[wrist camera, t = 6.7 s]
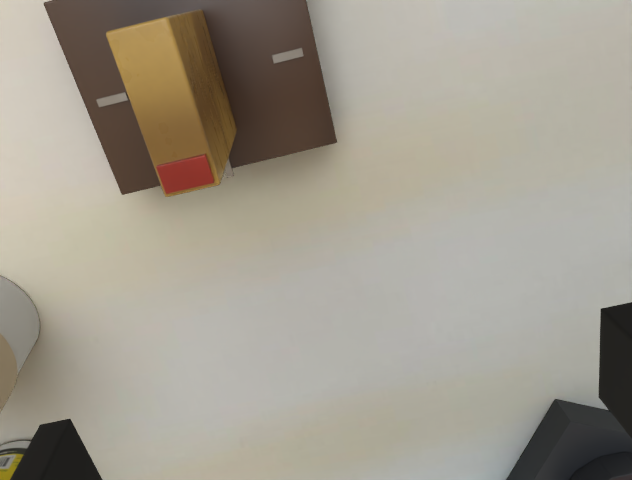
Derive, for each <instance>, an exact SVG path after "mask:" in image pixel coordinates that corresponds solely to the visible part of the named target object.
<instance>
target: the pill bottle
mask: <svg viewBox="0 0 632 480" xmlns="http://www.w3.org/2000/svg"><path fill="white" fill-rule="evenodd" d="M30 442H31V441H15V442H10V443H7V444H4V445H1V446H0V480H10V479H11V477H12V475H13V473H14V471H15V469H16V468H17V466H18V464H19V462H20V460H21V459H22V457H23V455H24V453H25V451H26V450H27V448H28V446H29V444H30Z"/></svg>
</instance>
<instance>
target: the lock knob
mask: <svg viewBox="0 0 632 480" xmlns="http://www.w3.org/2000/svg"><path fill="white" fill-rule="evenodd" d="M106 37H107V39H108V42H109V45H110V48H111V50H112V53H113V56H114V58H115V61H116V64H117V67H118V69H119V72H120V75H121V78H122V80H123V83H124V86H125V89H126V91H127V94H128V97H129V99H130V102H131V105H132V108H133V110H134V113H135V116H136V119H137V121H138V124H139V127H140V129H141V132H142V135H143V138H144V140H145V143H146V146H147V149H148V151H149V154H150V157H151V160H152V162H153V165H154V168H155V170H156V173H157V176H158V179H159V181H160V184H161V187H162V190H163V192H164V195H165V196H166V197H169V196H174V195H178V194H182V193H186V192H191V191H195V190H199V189H204V188H208V187H212V186H216V185H219V184H220V183H221V179H222V176H223V173H224V170H225V167H226V163H227V160H228V157H229V154H230V151H231V147H232V144H233V141H234V138H235V135H236V132H237V128H236V125H235V121H234V118H233V114H232V111H231V107H230V104H229V100H228V97H227V93H226V90H225V86H224V83H223V80H222V76H221V73H220V69H219V66H218V62H217V59H216V55H215V52H214V48H213V45H212V41H211V38H210V34H209V31H208V28H207V24H206V21H205V17H204V14H203V11H202V10H201V9H199V10H195V11H190V12H186V13H181V14H177V15H172V16H168V17H163V18H159V19H155V20H151V21H147V22H143V23H139V24H135V25H131V26H127V27H123V28H119V29H115V30H111V31H108V32H106Z"/></svg>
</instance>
